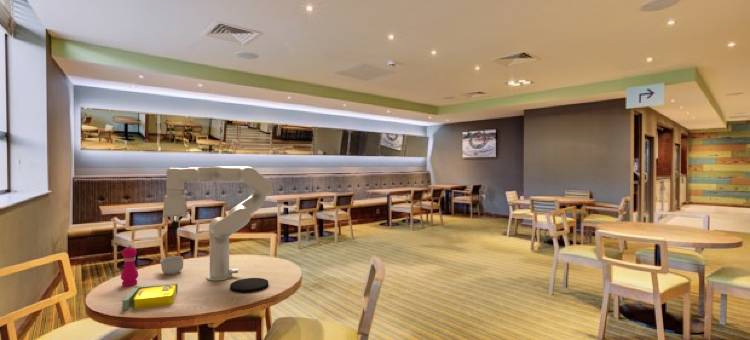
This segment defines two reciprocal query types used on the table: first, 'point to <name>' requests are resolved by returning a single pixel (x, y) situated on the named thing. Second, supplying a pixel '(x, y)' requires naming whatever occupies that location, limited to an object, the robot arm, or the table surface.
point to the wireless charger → (249, 285)
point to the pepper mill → (129, 267)
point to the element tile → (154, 296)
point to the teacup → (172, 264)
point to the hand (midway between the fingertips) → (175, 229)
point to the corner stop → (128, 299)
